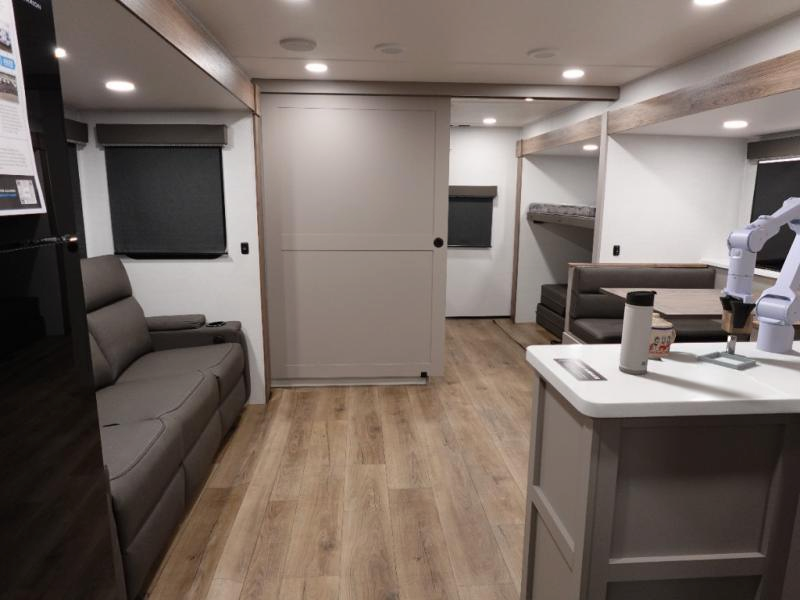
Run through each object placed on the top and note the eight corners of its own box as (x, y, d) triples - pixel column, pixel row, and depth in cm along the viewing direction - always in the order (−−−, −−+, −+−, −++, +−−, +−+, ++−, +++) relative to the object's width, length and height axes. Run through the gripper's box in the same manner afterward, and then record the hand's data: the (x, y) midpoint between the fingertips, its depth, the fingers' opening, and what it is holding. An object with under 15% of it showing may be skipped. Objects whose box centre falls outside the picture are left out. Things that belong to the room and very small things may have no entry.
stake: (723, 354, 149) (726, 332, 148) (745, 359, 144) (748, 337, 143) (713, 357, 146) (716, 335, 145) (735, 362, 141) (738, 339, 140)
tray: (716, 358, 145) (717, 351, 145) (755, 368, 137) (756, 360, 137) (697, 363, 140) (698, 356, 139) (736, 373, 132) (737, 365, 132)
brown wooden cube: (721, 328, 147) (722, 310, 146) (743, 329, 146) (745, 310, 145) (728, 332, 142) (730, 314, 141) (751, 333, 141) (753, 314, 140)
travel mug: (650, 376, 128) (660, 293, 125) (621, 373, 129) (629, 291, 126) (644, 368, 134) (653, 289, 131) (616, 366, 135) (624, 287, 132)
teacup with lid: (650, 361, 141) (655, 317, 139) (625, 352, 149) (629, 311, 147) (685, 358, 145) (691, 315, 143) (659, 349, 153) (664, 309, 151)
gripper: (714, 271, 149) (708, 319, 151) (734, 277, 135) (727, 330, 137) (742, 272, 148) (735, 320, 150) (766, 279, 134) (758, 332, 136)
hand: (733, 325), depth 144 cm, fingers closed on brown wooden cube, 5 cm apart
